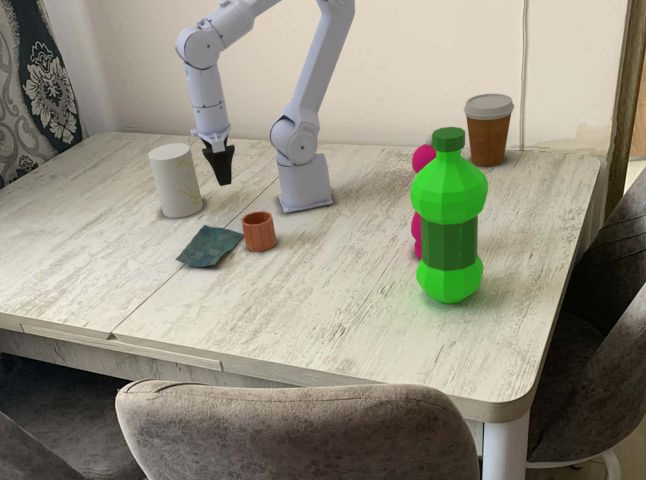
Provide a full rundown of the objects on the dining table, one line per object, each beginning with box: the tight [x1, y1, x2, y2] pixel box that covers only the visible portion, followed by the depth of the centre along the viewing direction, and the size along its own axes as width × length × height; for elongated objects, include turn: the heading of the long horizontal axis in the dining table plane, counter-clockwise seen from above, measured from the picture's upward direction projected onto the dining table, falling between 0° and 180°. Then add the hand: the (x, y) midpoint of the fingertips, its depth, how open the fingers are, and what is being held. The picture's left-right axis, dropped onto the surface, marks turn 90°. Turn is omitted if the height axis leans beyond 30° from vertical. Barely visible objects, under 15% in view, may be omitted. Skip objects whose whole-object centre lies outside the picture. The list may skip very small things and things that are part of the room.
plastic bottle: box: [409, 126, 489, 304], centre depth 103 cm, size 10×10×25 cm
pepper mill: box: [410, 133, 437, 260], centre depth 115 cm, size 7×7×20 cm
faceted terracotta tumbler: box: [240, 210, 277, 253], centre depth 129 cm, size 5×6×5 cm
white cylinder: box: [147, 142, 204, 219], centre depth 143 cm, size 8×8×12 cm
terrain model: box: [174, 224, 244, 268], centre depth 130 cm, size 13×8×2 cm, turn 161°
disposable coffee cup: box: [463, 93, 515, 167], centre depth 144 cm, size 10×10×12 cm
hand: (223, 176), depth 133 cm, fingers open, 7 cm apart
